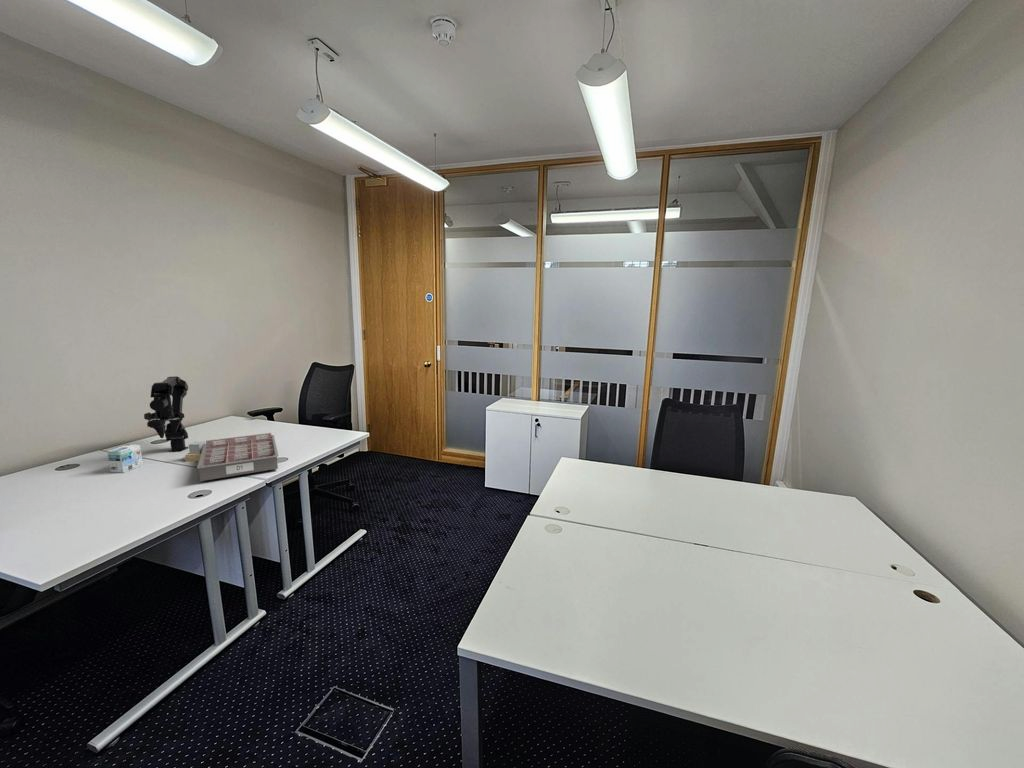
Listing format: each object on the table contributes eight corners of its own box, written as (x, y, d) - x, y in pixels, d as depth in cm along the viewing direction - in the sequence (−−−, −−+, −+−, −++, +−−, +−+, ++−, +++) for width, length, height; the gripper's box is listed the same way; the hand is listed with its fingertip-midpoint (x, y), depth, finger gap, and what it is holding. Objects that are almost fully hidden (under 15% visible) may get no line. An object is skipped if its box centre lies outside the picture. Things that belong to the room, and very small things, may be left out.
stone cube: (195, 450, 219) (194, 441, 218) (206, 450, 219) (204, 441, 218) (189, 453, 214) (188, 444, 213) (200, 453, 214) (198, 444, 213)
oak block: (194, 457, 220) (193, 449, 219) (211, 456, 222) (210, 449, 221) (185, 462, 212) (185, 455, 212) (203, 461, 214) (202, 454, 213)
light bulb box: (123, 473, 197) (120, 451, 195) (109, 472, 197) (106, 451, 195) (143, 464, 207) (140, 444, 206) (130, 464, 208) (127, 444, 206)
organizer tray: (198, 485, 185) (195, 464, 184) (205, 458, 218) (203, 440, 217) (279, 471, 202) (278, 452, 201) (275, 448, 236) (273, 431, 234)
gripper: (161, 402, 222) (164, 430, 225) (133, 410, 204) (137, 441, 207) (183, 402, 223) (186, 430, 226) (157, 410, 205) (161, 440, 208)
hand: (168, 435), depth 217 cm, fingers open, 9 cm apart
